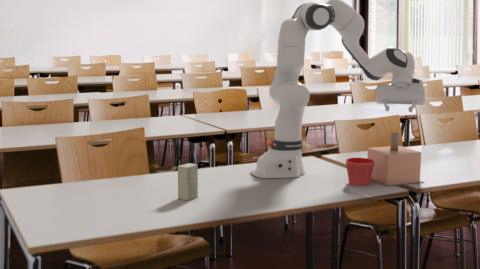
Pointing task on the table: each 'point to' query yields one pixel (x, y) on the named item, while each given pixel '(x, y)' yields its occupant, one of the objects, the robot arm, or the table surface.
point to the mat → (396, 184)
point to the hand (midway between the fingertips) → (398, 110)
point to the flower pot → (359, 171)
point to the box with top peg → (395, 163)
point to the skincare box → (187, 181)
